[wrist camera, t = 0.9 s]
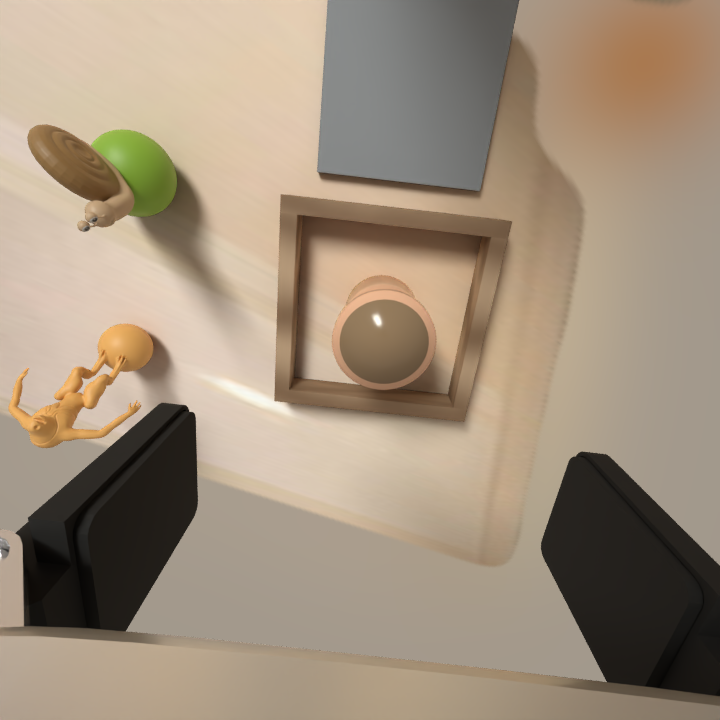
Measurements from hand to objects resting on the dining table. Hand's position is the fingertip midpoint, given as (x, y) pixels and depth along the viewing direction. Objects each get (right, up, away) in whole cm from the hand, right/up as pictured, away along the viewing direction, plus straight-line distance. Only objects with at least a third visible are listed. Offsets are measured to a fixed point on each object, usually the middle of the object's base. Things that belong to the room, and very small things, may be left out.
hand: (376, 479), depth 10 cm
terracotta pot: (+1, +7, +23) cm, 25 cm away
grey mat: (+3, +22, +17) cm, 28 cm away
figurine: (-20, +4, +25) cm, 33 cm away
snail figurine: (-16, +16, +20) cm, 30 cm away
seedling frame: (+1, +7, +23) cm, 24 cm away
